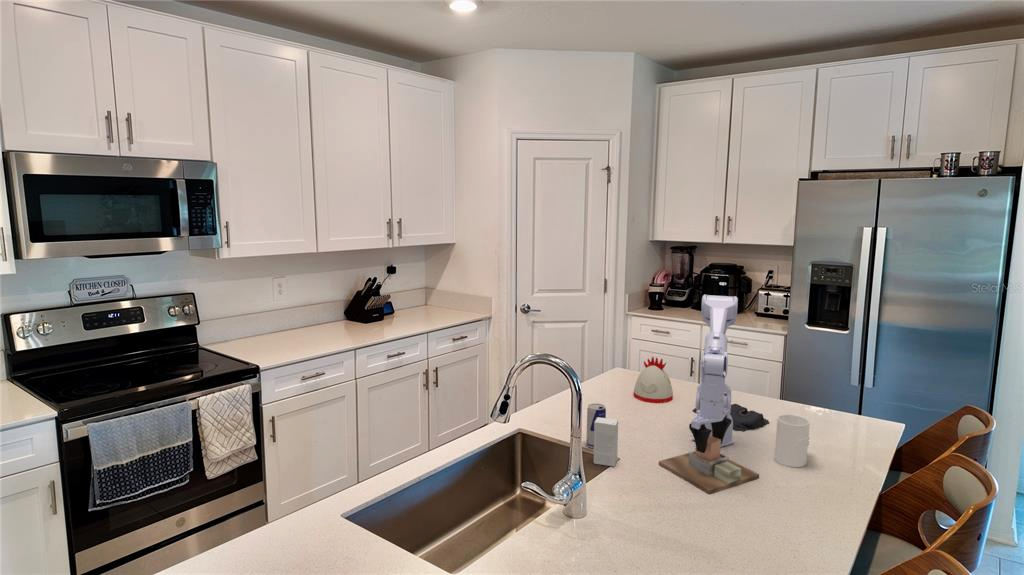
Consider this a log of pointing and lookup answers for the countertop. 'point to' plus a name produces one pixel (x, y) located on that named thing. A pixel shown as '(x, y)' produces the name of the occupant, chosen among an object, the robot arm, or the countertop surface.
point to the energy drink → (592, 415)
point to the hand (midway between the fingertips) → (709, 447)
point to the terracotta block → (711, 449)
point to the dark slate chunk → (745, 418)
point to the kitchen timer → (653, 383)
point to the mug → (792, 440)
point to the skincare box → (605, 441)
